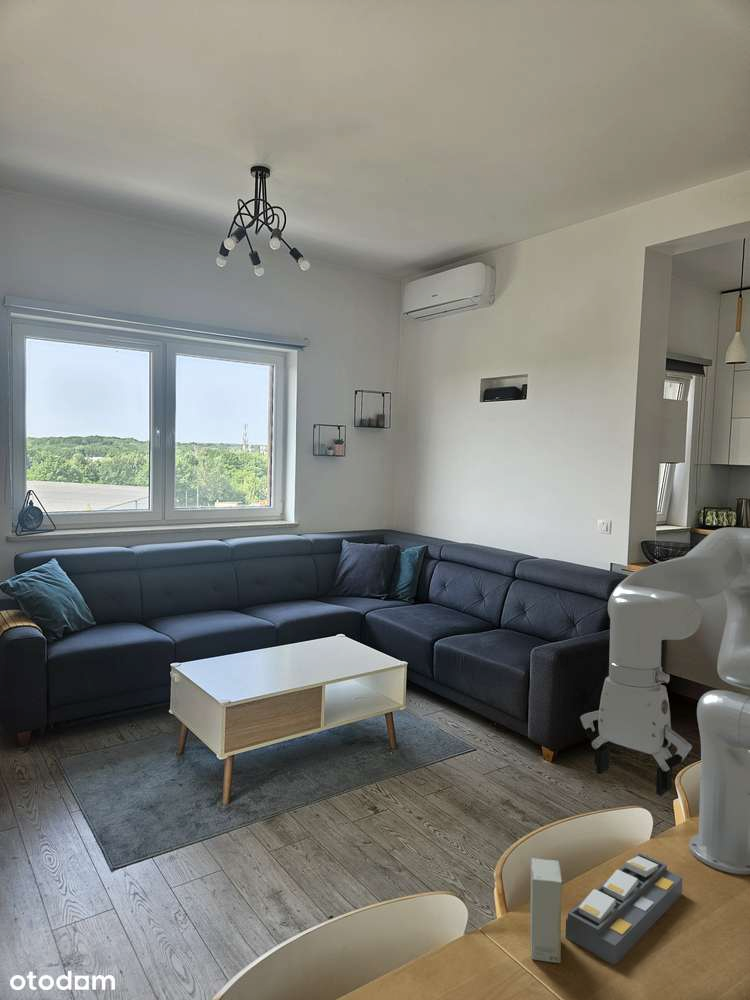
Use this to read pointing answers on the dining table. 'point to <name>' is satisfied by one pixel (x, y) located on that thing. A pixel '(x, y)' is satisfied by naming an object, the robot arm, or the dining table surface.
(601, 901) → the block
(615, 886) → the block
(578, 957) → the dining table surface
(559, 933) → the skincare box
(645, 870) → the plate
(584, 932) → the switch unit
